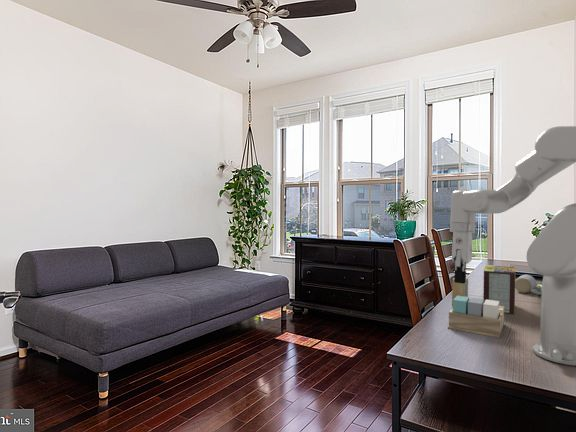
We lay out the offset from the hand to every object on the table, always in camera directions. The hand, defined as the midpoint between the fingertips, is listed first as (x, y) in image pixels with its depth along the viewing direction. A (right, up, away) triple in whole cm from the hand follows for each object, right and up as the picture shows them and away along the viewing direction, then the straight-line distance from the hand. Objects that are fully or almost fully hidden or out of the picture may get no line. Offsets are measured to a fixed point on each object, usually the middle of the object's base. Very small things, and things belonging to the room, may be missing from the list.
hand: (459, 282), depth 122 cm
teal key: (0, -10, 0) cm, 10 cm away
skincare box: (+9, -14, +18) cm, 25 cm away
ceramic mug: (+54, -14, +48) cm, 73 cm away
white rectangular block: (+7, -10, -5) cm, 14 cm away
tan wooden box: (+5, -14, -1) cm, 15 cm away
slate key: (+4, -10, -3) cm, 11 cm away
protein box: (+25, -14, +21) cm, 36 cm away
